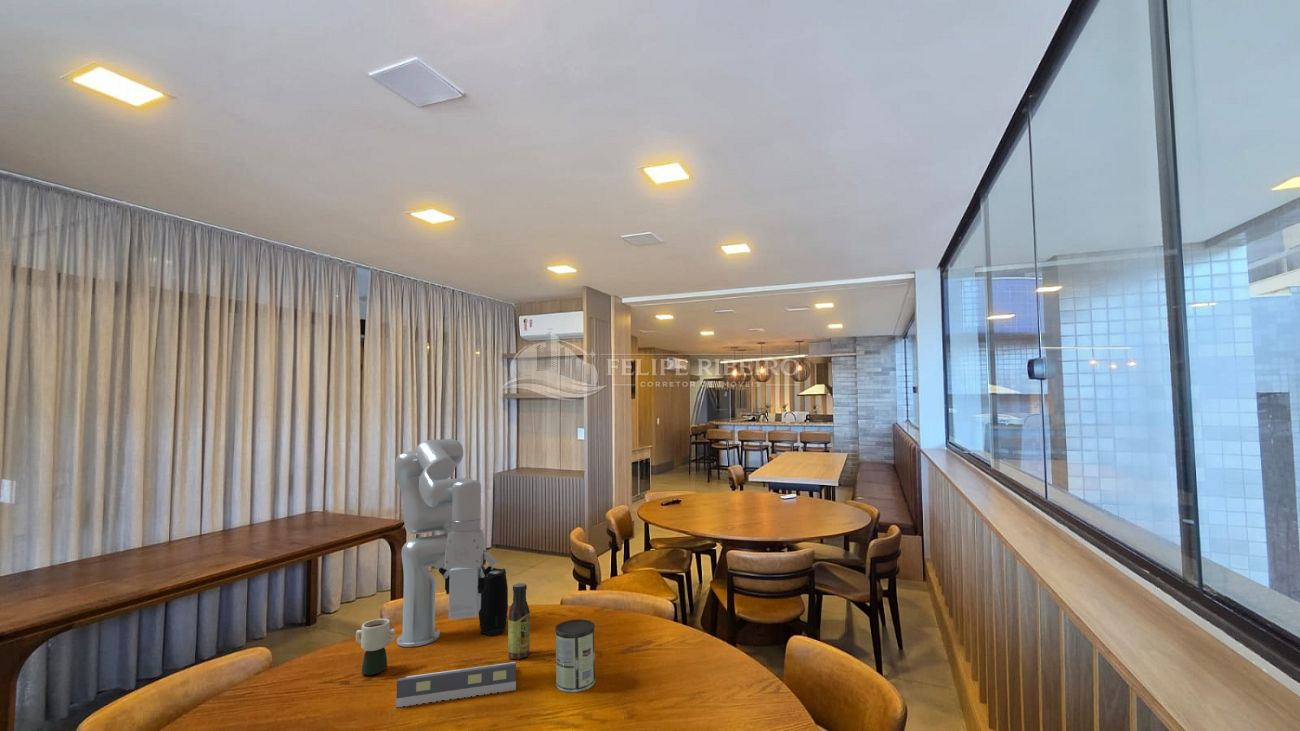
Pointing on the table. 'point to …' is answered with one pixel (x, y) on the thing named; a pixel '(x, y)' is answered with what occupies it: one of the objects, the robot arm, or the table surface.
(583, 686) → the coffee can
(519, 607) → the sauce bottle
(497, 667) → the rail
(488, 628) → the portable speaker
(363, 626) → the character mug
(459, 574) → the supplement box
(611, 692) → the table surface
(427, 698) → the shelf board
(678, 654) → the table surface
